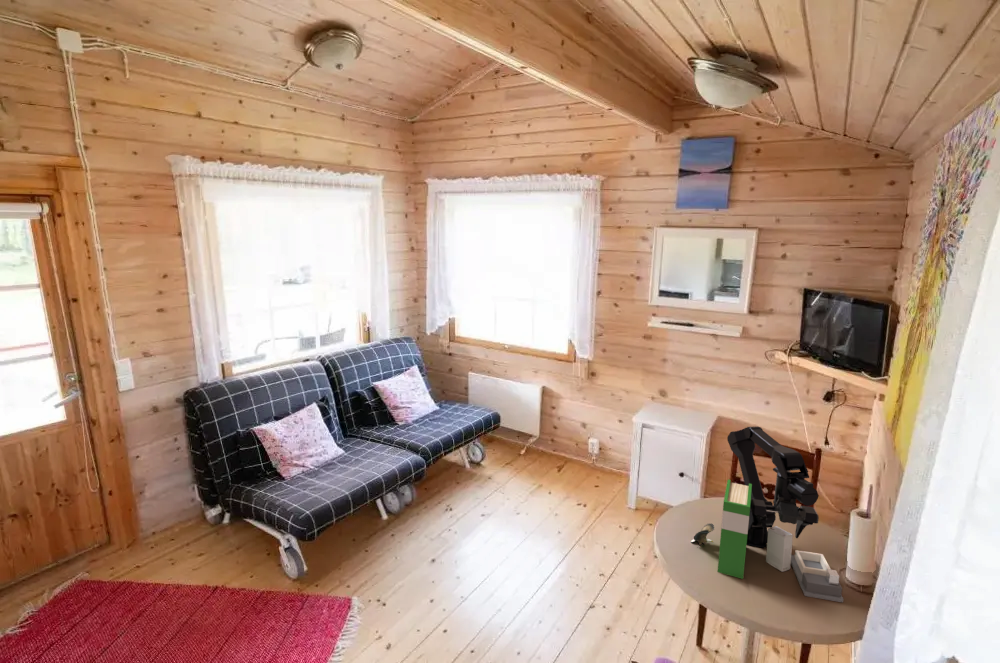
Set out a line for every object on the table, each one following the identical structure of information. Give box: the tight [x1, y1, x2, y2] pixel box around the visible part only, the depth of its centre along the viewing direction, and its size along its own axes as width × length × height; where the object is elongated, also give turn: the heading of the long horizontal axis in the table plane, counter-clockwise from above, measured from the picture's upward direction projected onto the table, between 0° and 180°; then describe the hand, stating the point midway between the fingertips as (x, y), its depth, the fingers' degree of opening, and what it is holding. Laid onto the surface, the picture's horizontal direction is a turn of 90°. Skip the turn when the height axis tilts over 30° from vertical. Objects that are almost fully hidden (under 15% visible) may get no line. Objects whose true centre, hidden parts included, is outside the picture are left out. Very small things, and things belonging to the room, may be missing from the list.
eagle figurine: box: [690, 523, 715, 549], centre depth 178 cm, size 8×7×9 cm
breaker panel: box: [790, 549, 844, 603], centre depth 163 cm, size 10×20×4 cm, turn 164°
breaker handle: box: [826, 568, 840, 585], centre depth 155 cm, size 2×3×3 cm
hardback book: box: [717, 478, 752, 580], centre depth 170 cm, size 18×7×24 cm, turn 153°
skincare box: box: [765, 525, 794, 572], centre depth 168 cm, size 6×4×12 cm
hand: (780, 535), depth 168 cm, fingers open, 9 cm apart
